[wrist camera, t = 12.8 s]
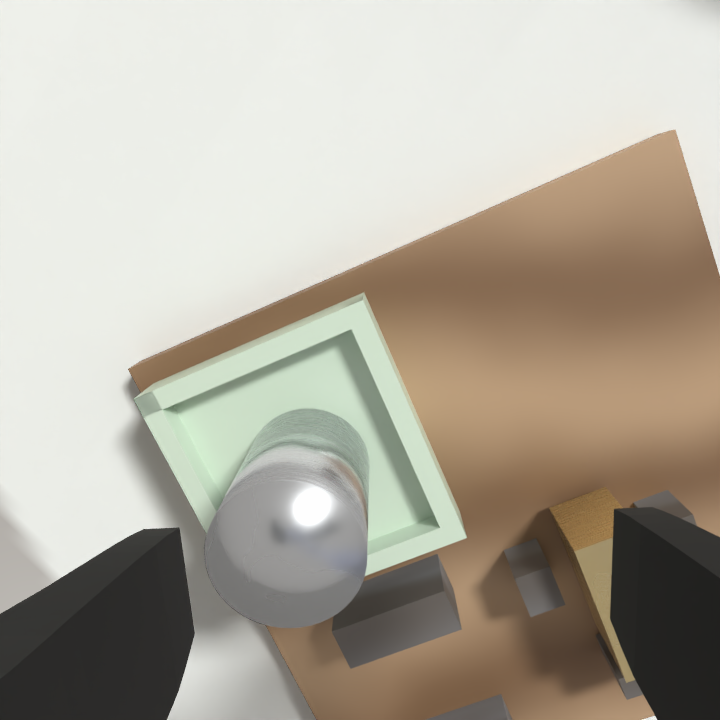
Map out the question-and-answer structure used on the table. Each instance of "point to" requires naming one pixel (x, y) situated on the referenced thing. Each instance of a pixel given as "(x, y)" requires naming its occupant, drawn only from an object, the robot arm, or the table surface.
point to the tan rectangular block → (593, 558)
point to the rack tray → (314, 391)
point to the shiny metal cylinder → (294, 522)
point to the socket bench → (521, 436)
